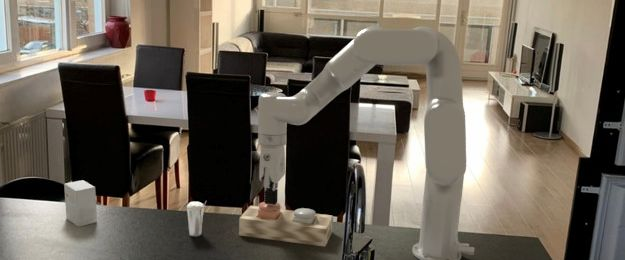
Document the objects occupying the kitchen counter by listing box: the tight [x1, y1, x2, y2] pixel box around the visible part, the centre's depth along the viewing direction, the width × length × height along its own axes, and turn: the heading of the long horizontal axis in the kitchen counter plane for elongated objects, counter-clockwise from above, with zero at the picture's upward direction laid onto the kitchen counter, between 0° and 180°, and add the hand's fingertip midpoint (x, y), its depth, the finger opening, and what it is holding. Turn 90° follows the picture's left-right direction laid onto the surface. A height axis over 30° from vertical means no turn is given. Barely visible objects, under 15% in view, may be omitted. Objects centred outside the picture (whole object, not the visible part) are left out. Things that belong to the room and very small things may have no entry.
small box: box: [63, 179, 98, 227], centre depth 171 cm, size 8×6×10 cm
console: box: [238, 205, 334, 248], centre depth 169 cm, size 24×10×5 cm, turn 78°
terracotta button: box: [258, 201, 282, 220], centre depth 170 cm, size 6×6×6 cm
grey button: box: [293, 207, 317, 224], centre depth 168 cm, size 6×6×6 cm
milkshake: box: [186, 201, 207, 237], centre depth 165 cm, size 4×5×10 cm
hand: (271, 203), depth 169 cm, fingers closed
